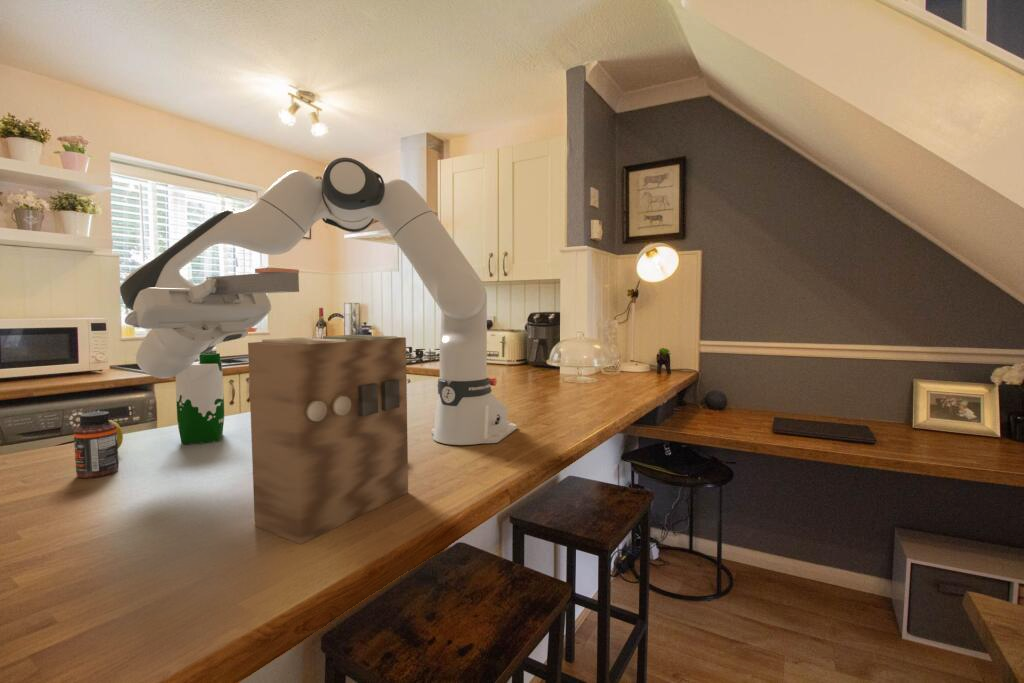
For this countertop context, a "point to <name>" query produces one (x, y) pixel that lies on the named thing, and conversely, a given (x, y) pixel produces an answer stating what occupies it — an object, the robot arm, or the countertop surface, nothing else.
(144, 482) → the countertop surface
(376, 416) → the panel block
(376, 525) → the countertop surface
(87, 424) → the supplement bottle
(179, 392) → the milk carton
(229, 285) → the paddle lever
